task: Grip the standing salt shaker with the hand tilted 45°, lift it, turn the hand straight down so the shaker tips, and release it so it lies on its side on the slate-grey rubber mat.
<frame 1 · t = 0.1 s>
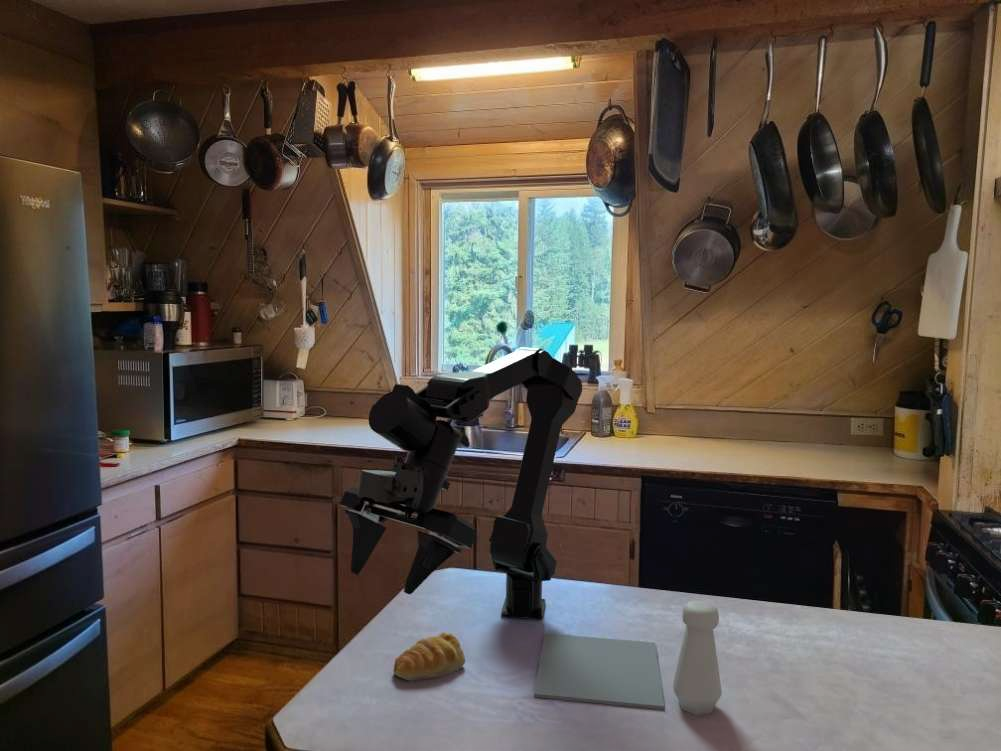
hand: (379, 583, 87), 15 cm above the table, tool tilted 35°, fingers open, 9 cm apart
pastry: (431, 669, 96), on the table
salt shaker: (696, 707, 88), on the table
slate mat: (598, 669, 96), on the table
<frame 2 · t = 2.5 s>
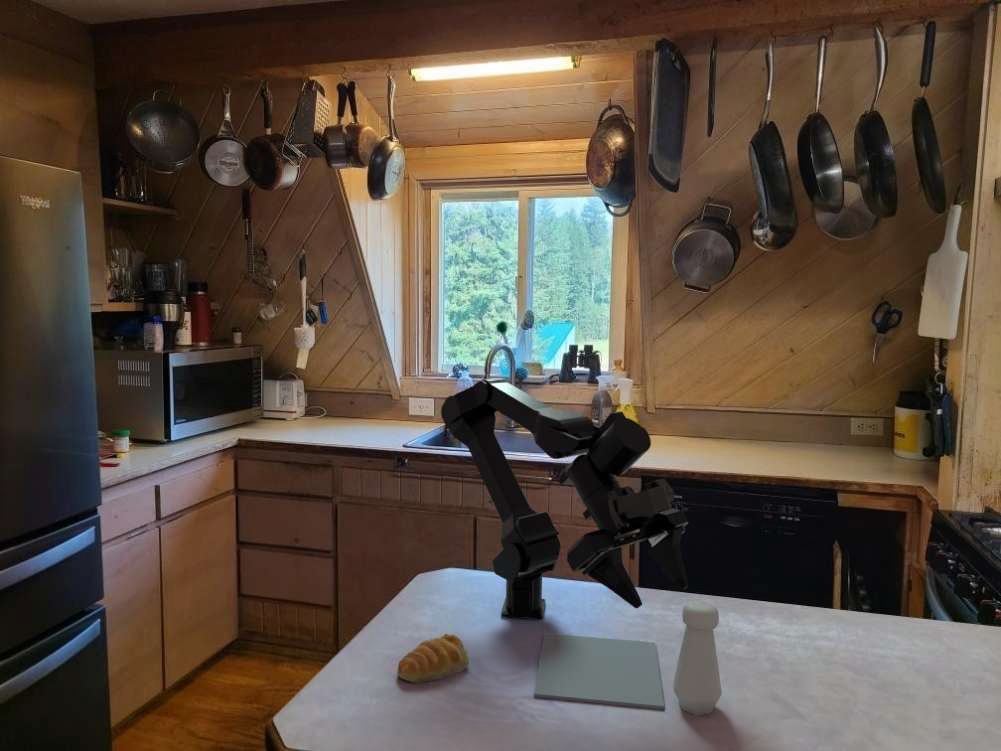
hand: (663, 597, 91), 12 cm above the table, tool tilted 45°, fingers open, 9 cm apart
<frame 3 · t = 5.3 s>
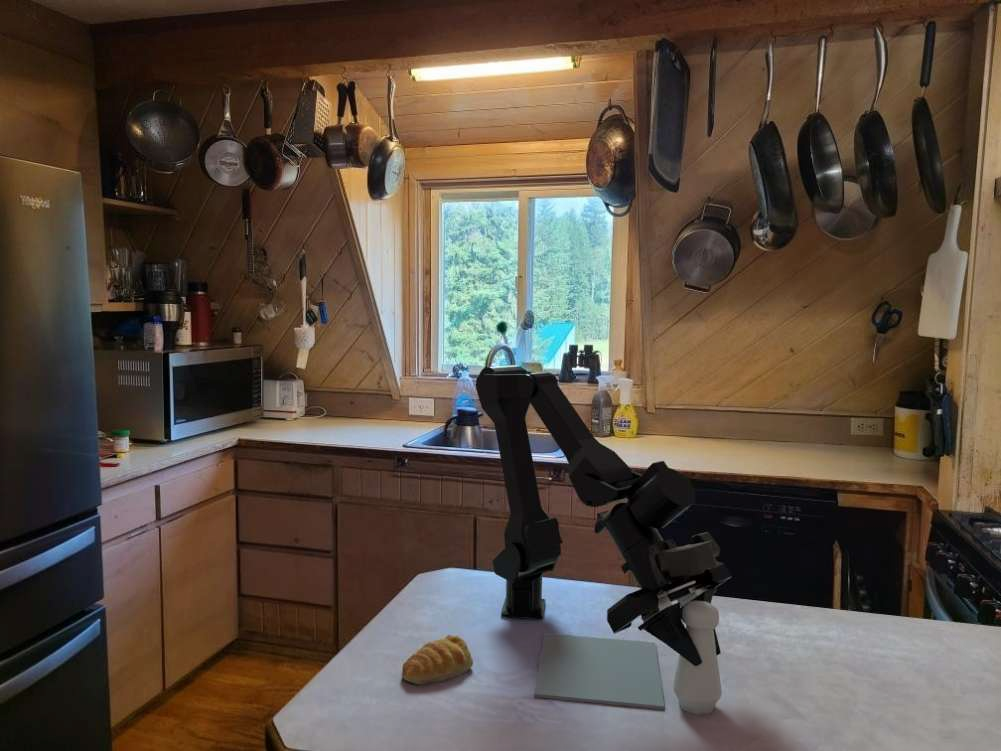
hand: (708, 659, 86), 7 cm above the table, tool tilted 45°, fingers closed on salt shaker, 3 cm apart
salt shaker: (696, 707, 88), on the table, touching gripper
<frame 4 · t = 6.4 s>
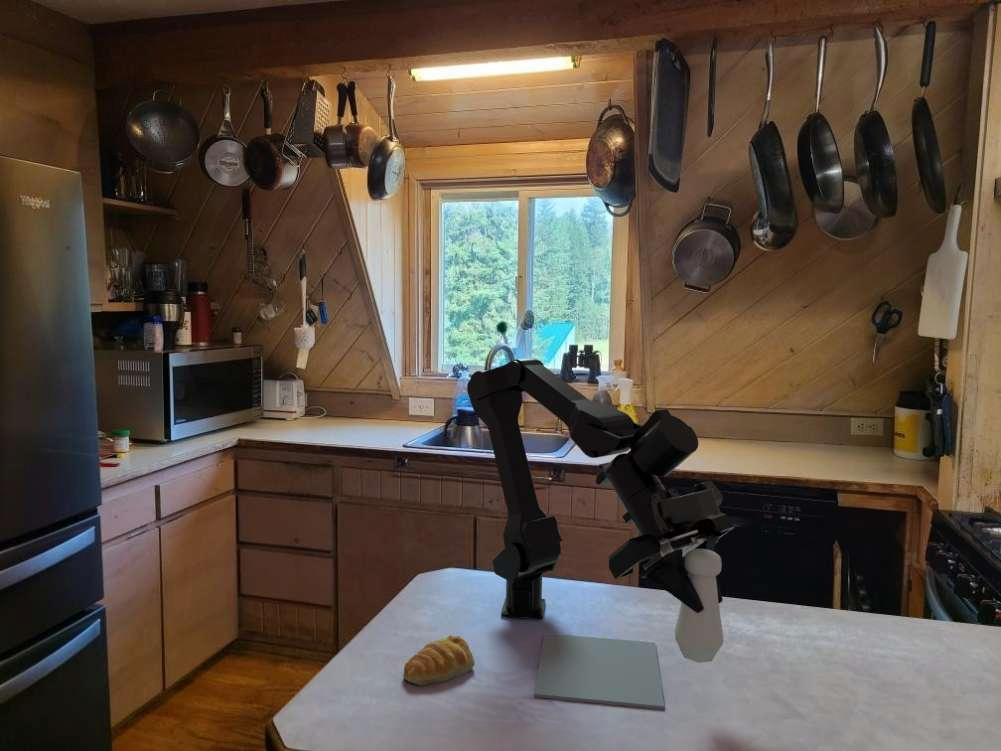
hand: (710, 607, 86), 13 cm above the table, tool tilted 45°, fingers closed on salt shaker, 3 cm apart
salt shaker: (697, 655, 88), point 6 cm above the table, touching gripper
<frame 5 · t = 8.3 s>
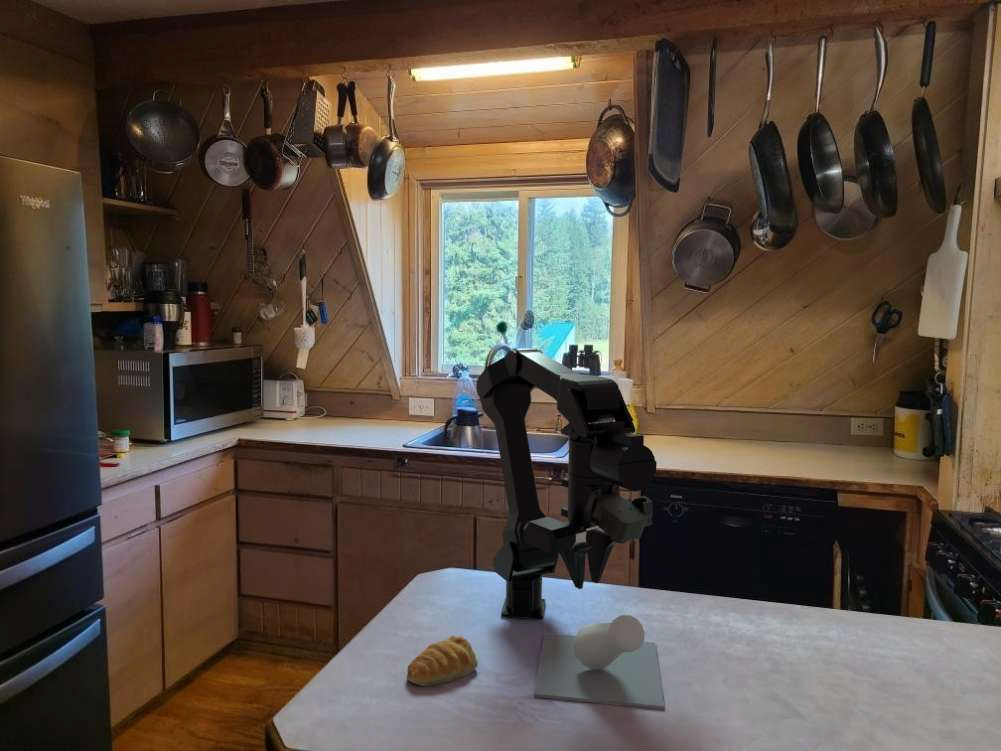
hand: (587, 585, 97), 11 cm above the table, tool pointing down, fingers open, 3 cm apart
salt shaker: (586, 649, 97), point 2 cm above the table, touching slate mat
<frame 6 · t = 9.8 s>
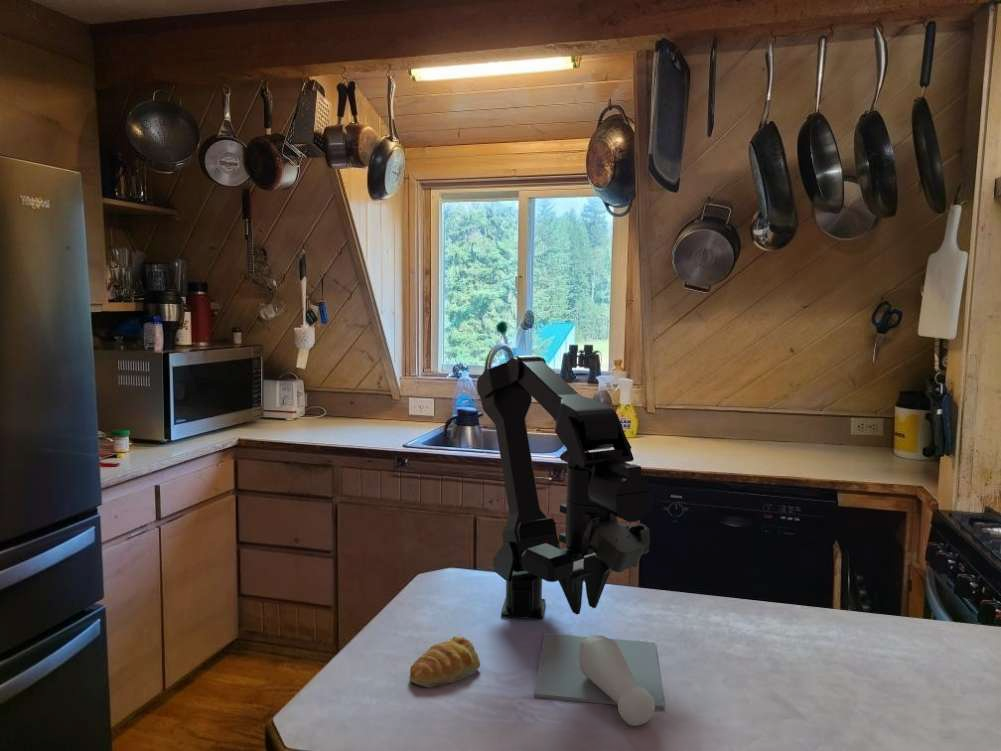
hand: (584, 610, 98), 7 cm above the table, tool pointing down, fingers open, 3 cm apart
salt shaker: (591, 647, 95), point 4 cm above the table, touching slate mat
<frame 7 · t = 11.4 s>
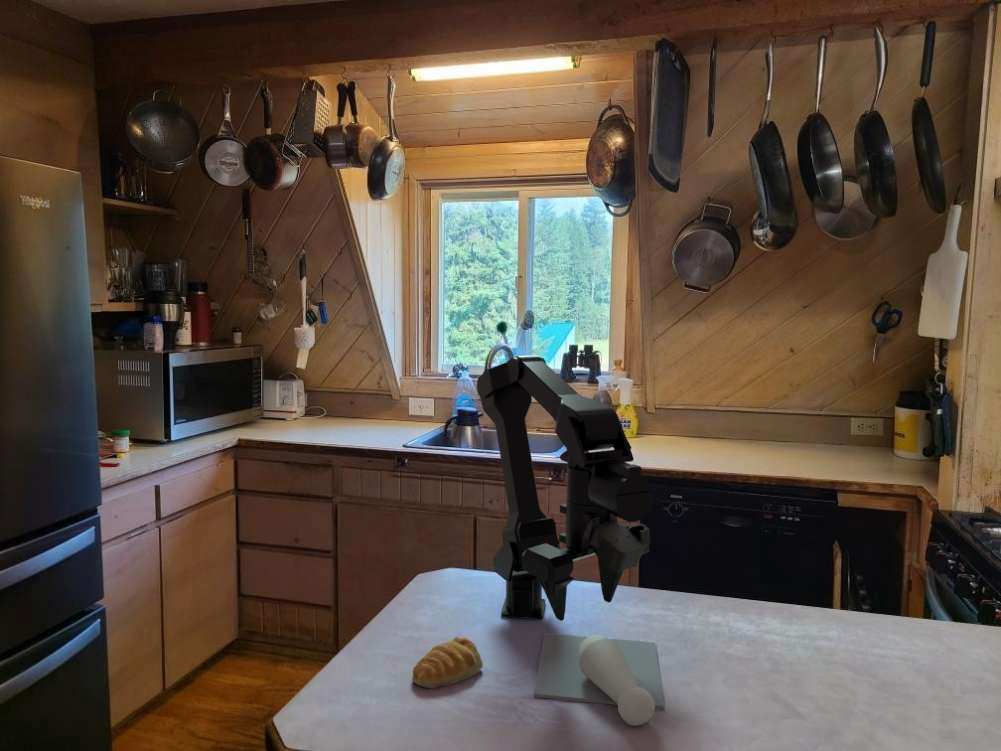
hand: (584, 610, 98), 7 cm above the table, tool pointing down, fingers open, 9 cm apart
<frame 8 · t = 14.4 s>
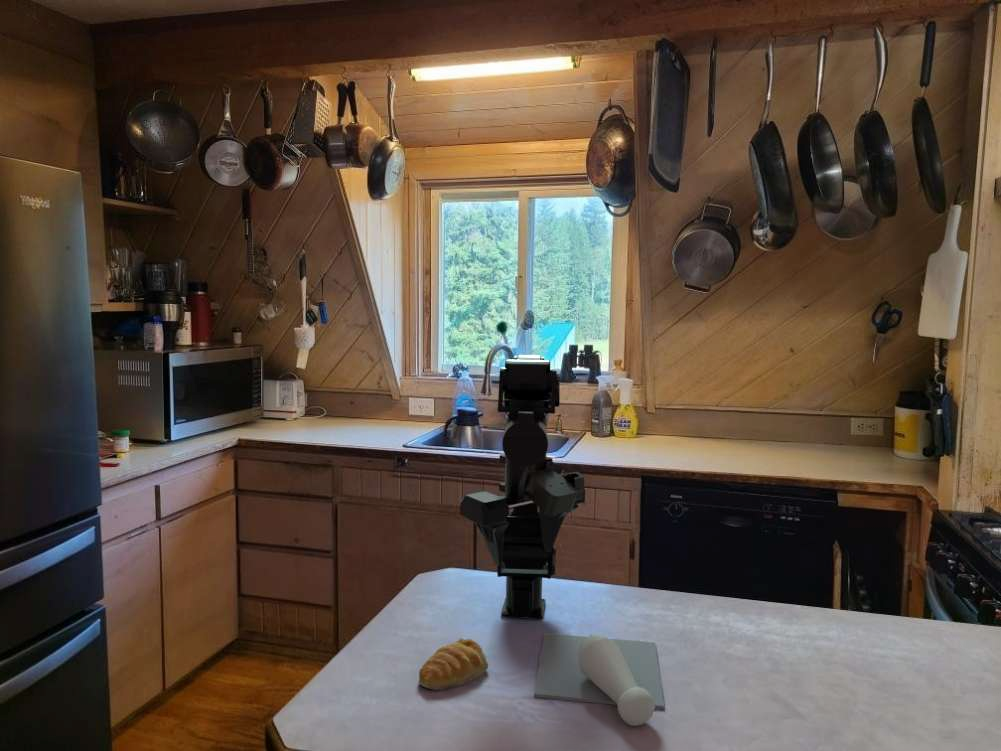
hand: (523, 558, 101), 13 cm above the table, tool pointing down, fingers open, 9 cm apart
at the end: salt shaker tilted 97°; salt shaker inside the target area on the slate mat (1.6 cm from its centre), point 3.6 cm above the slate mat's base; salt shaker touching slate mat, table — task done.
